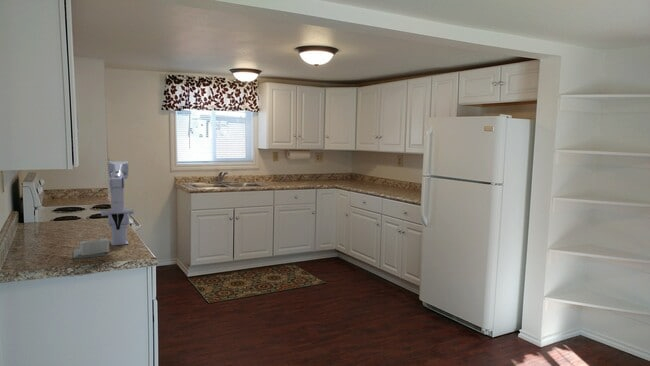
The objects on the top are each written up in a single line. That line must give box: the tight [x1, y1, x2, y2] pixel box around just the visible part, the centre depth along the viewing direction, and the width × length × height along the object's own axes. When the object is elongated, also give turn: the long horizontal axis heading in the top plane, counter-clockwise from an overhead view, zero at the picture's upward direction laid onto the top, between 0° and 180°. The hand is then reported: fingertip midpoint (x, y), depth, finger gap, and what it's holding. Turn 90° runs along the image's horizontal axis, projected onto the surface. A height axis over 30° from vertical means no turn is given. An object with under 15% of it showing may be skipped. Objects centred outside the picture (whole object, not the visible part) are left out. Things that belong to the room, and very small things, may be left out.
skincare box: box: [79, 238, 110, 256], centre depth 219 cm, size 6×4×12 cm
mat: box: [72, 248, 106, 260], centre depth 221 cm, size 18×13×1 cm
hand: (118, 229), depth 227 cm, fingers closed
